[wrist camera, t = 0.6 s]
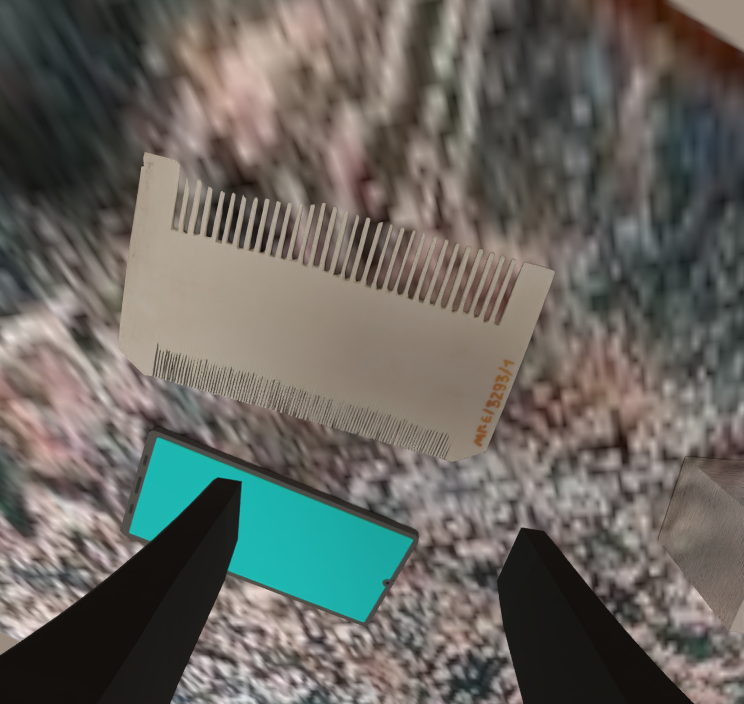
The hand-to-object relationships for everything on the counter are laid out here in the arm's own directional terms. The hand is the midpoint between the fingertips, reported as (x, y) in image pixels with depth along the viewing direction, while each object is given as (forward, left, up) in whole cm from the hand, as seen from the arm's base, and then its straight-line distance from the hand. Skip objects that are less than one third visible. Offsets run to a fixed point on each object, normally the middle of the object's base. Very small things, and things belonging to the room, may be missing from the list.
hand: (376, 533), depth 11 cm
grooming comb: (+3, +3, -10) cm, 11 cm away
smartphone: (-9, +6, -10) cm, 15 cm away
